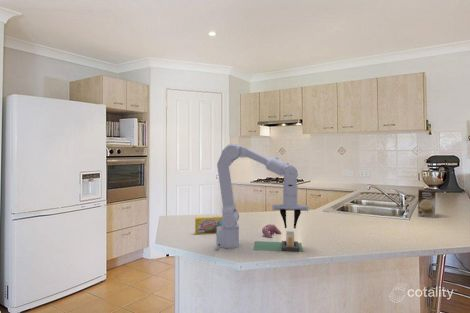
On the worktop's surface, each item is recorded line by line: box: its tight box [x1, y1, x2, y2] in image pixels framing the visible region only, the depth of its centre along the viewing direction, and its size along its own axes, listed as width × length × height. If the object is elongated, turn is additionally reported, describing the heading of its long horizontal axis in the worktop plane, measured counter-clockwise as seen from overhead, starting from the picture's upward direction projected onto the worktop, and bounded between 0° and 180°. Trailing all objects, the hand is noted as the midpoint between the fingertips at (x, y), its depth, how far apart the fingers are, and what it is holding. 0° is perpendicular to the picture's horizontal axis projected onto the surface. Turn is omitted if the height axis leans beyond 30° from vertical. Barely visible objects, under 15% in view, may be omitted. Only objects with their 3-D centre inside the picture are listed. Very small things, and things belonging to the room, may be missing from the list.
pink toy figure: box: [261, 223, 282, 239], centre depth 147 cm, size 10×5×7 cm, turn 141°
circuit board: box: [252, 240, 304, 253], centre depth 130 cm, size 20×12×1 cm, turn 82°
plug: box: [285, 230, 295, 247], centre depth 127 cm, size 3×5×6 cm, turn 172°
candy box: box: [194, 216, 222, 235], centre depth 154 cm, size 16×2×8 cm, turn 101°
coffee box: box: [417, 189, 436, 219], centre depth 190 cm, size 9×6×16 cm
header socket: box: [281, 240, 300, 253], centre depth 127 cm, size 7×9×2 cm
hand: (290, 227), depth 127 cm, fingers open, 3 cm apart
